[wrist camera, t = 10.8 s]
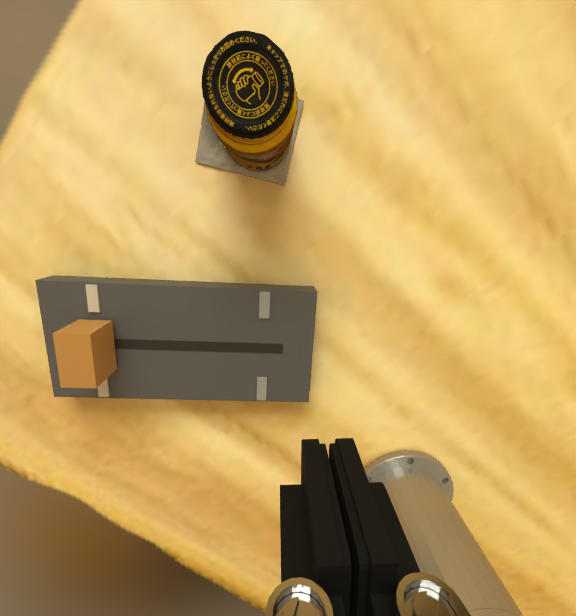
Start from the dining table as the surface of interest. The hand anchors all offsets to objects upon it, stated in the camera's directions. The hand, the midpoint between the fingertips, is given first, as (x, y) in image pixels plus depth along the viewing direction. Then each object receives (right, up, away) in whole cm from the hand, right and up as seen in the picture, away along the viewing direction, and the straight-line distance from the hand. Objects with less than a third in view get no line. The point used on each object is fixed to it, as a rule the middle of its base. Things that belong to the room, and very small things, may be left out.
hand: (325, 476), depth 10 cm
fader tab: (-19, +2, +20) cm, 28 cm away
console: (-12, +2, +23) cm, 26 cm away
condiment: (-5, +22, +19) cm, 29 cm away
